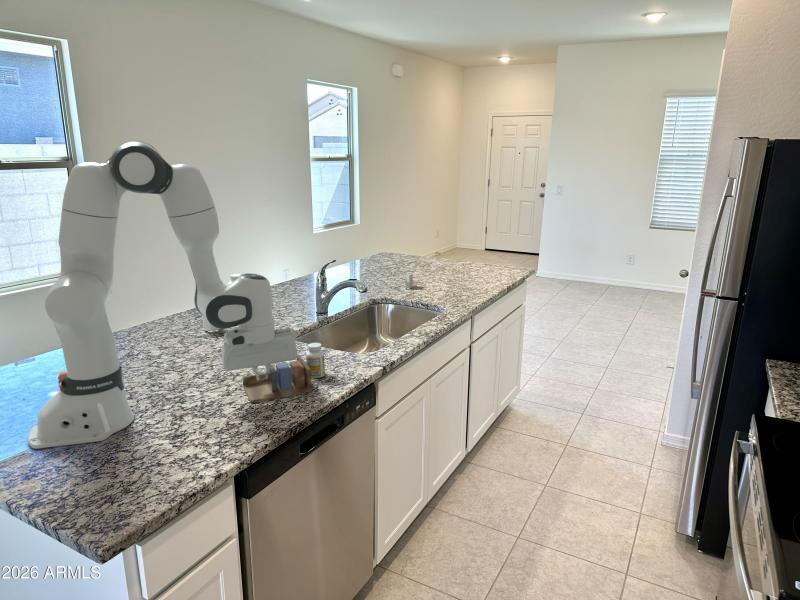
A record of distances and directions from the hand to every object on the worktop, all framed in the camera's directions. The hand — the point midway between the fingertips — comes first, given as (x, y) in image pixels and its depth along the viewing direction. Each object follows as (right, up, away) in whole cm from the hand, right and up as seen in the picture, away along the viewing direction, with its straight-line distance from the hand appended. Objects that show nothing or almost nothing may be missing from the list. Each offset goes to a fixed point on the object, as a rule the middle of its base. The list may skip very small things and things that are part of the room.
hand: (262, 379), depth 150 cm
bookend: (+3, -3, +2) cm, 4 cm away
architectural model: (+43, +27, +116) cm, 126 cm away
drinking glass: (-33, +10, +54) cm, 64 cm away
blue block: (+5, -3, +3) cm, 7 cm away
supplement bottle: (+13, -1, +13) cm, 19 cm away
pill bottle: (-31, +18, +81) cm, 88 cm away
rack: (+3, -3, +4) cm, 6 cm away
